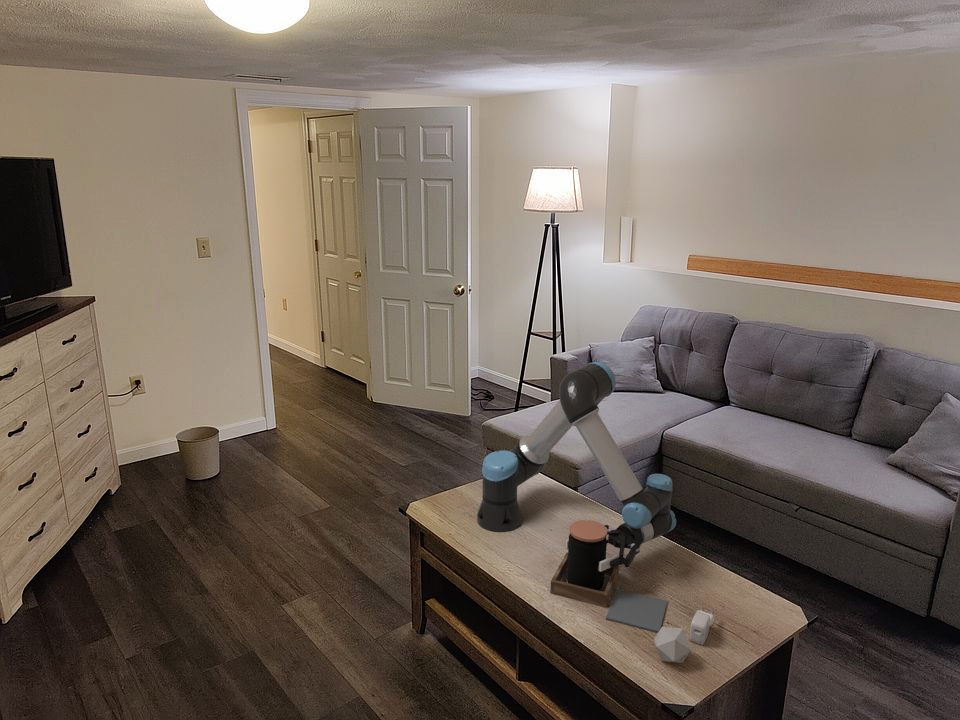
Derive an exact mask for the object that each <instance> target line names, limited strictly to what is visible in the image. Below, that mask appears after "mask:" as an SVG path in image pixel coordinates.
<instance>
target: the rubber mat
mask: <svg viewBox="0 0 960 720" xmlns="http://www.w3.org/2000/svg"><path fill="white" fill-rule="evenodd" d="M667 604H668V600H667V599H662V598H658V597H654V596H649V595H645V594H641V593H636V592H634V591H633V592H632V591H629V590H625V589H621V588H616V590H615V593H614V595H613V598H612V601H611V604H610V606H609V608H608V612H607V615H606V616H605V620H606V621H610V622H614V623H619V624H621V625H624V626H628V627H634V628H638V629H640V630H641V629H642V630H644V631H648V632H649V631H650V632H651V633H657V634H658V632H659V631H660V629H661V627H662V624H663V619H664V616H665V613H666V610H667V609H666V608H667Z"/></svg>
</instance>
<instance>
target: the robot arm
mask: <svg viewBox="0 0 960 720" xmlns="http://www.w3.org/2000/svg"><path fill="white" fill-rule="evenodd" d="M616 384H617V381H616V376H615V374H614V370H612V368H611V367H610V366H608V365H607V364H605V363H603V362H601V361H600V362H599V361H593V362H589V363H587V364H585V365H584V366H582V367H580V368H577V369H575V370H573V371H571V372H568V373H567V374H565V376H564V377H563V378H562V380H561V381H560V383H559V388H558V398H559V400H558V402H556V404H555V405H554V406H553V407H552V409H551V410H550V411H549V412H548V414H547V415H545V417H544V418H543V419H542V420H541V422H540V423H539V424H538V425H537V427H535V428H534V430H533V431H532V432H531V433H530V435H525V436H522V437H521V438H520V440H519V441H518V442H517V443H516V445H514V446H513V447H512V448H511V449H510V450H498V451H496V450H495V451H493V452H491V453H488V454H487V455H486V456H485V457H484V459H483V462H482V467H481V472H482V494H481V495H482V499H481V502H480V506H479V508H478V510H477V514H476V515H477V516H476V522H477V523H478V525H479V526H480V527H481V528H483V529H484V530H487V531H491V532H498V533H499V532H501V533H502V532H508V531H513V530H515V529H517V528H518V527H520V526H521V524H522V519H523V518H522V517H523V516H522V510H521V508H520V504H519V502H518V487H519V486H520V485H522V484H523V483H525V482H527V481H528V480H530V479H531V478H533V477H535V476H537V475H538V474H540V473H541V472H542V471H543V470H544V469H545V467H546V465H547V462H548V460H549V457H550V454H549V453H550V452H551V451H552V450H553V448H554V447H555V446H556V445H557V444H558V443H559V441H561V439H562V438H563V437H564V436H566V434H567V432H569V430H570V429H571V428H572V427H575V428H576V429H577V431H578V432H579V434H580V435H581V437H582V439H583V440H584V443H585V444H586V446H587V447H588V449H589V451H590V452H591V455H592V456H593V457H594V459H595V461H596V462H597V464H598V466H599V467H600V470H601V472H603V474H604V475H605V477H606V479H607V481H608V482H609V483H608V484H609V485H610V486H611V487H612V490H613V491H614V493H615V494H616V496H617V498H618V499H619V501H620V503H621V505H622V506H623V508H622V510H621V518H622V520H623V523H620V524H619V525H618V527H616V529H610V525H608V524H603V525H604V526H605V527H606V528H607V544H610V545H611V546H613V548H615V549H619V550H618V551H619V552H618V553H619V554H614V555H612V556H610V557H608V558H607V557H606V559H605V560H603V561H601V562H599V571H600V572H602V571H604V570H606V569H608V568H610V567H615V566H618V565H619V566H624V568H629V567H630V566H631V564H632V563H633V561H634V559H635V557H636V556H637V555H638V554H640V552H641V545H643V544H646V543H647V542H649V541H652V540H655V539H656V538H659V537H661V536H665V535H667V534H668V533H669V532H671V531H673V530H674V529H675V527H676V525H677V519H676V515H675V513H674V511H673V510H671V506H672V505H671V503H672V495H673V494H672V493H673V490H674V489H673V479H672V478H671V477H670V476H668V475H666V474H663V473H652V474H650V475H648V477H647V478H646V483H645V485H646V488H643V487H642V484H641V483H640V481H639V480H638V478H637V477H636V475H635V473H634V471H633V470H632V468H631V467H630V465H629V463H628V461H627V460H626V458H625V456H624V455H623V453H622V451H621V450H620V448H619V446H618V444H617V443H616V442H615V440H614V438H613V436H612V434H611V433H610V431H609V429H608V428H607V426H606V424H605V422H604V421H603V420H602V418H601V416H600V415H599V411H600V408H599V404H600V403H601V402H602V401H603V400H604V399H605V398H606V397H607V398H608V397H609V396H610V395H612V393H613V392H614V391H615V389H616V386H617V385H616ZM568 543H569V538H567V539H566V540H565V548H564V549H566V550H568ZM625 549H629V551H628V553H627V554H626V556H625ZM624 556H625V557H624Z"/></svg>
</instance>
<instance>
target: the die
mask: <svg viewBox="0 0 960 720" xmlns="http://www.w3.org/2000/svg"><path fill="white" fill-rule="evenodd" d="M653 642H654V645H655V648H656V650H657V654H658V656H659V658H660V661H661V662H669V663H678V664H683V662H684V661H685V660H686V658H687V657H688V655H689V654H690V652H691V651H692V649H691V645H690V643H689V640H688V638H687V635H686V632H685V629H684V628H681V627H671V626H661V629H660V631H659V632H658V633H657V634H656V635H655V636H654V638H653Z"/></svg>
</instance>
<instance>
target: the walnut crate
mask: <svg viewBox="0 0 960 720" xmlns="http://www.w3.org/2000/svg"><path fill="white" fill-rule="evenodd" d="M567 564H568V551H567V552H565V555H564V557H563V558H562V560H561V562H560V564H559V566H558V567H557V569H556V571H555V573H554V575H553V577H552V578H551V579H550V580H551V581H550V592H549V593H550V594H551V595H554V596H558V597H562V598H566V599H567V598H568V599H570V600H574V601H578V602H583V603H587V604H590V605H594V606H597V607H602V608H607V607H608V604H609V601H610V599H611V597H612V594H613V591H614V589H615V586H616V584H617V581H618V579H619V574H620V565H618V566H615V567H610V568H608V569H606V570H605V576H607V577H609V579H608V583H607V585H606V588H605V590H604V591H601V590H600V591H598V590H593V589H589V588H585V587H581V586H577V585H573V584H569V583H567V582H565V581H562V579H563V577H564V575H565V574H566V573H567Z"/></svg>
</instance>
